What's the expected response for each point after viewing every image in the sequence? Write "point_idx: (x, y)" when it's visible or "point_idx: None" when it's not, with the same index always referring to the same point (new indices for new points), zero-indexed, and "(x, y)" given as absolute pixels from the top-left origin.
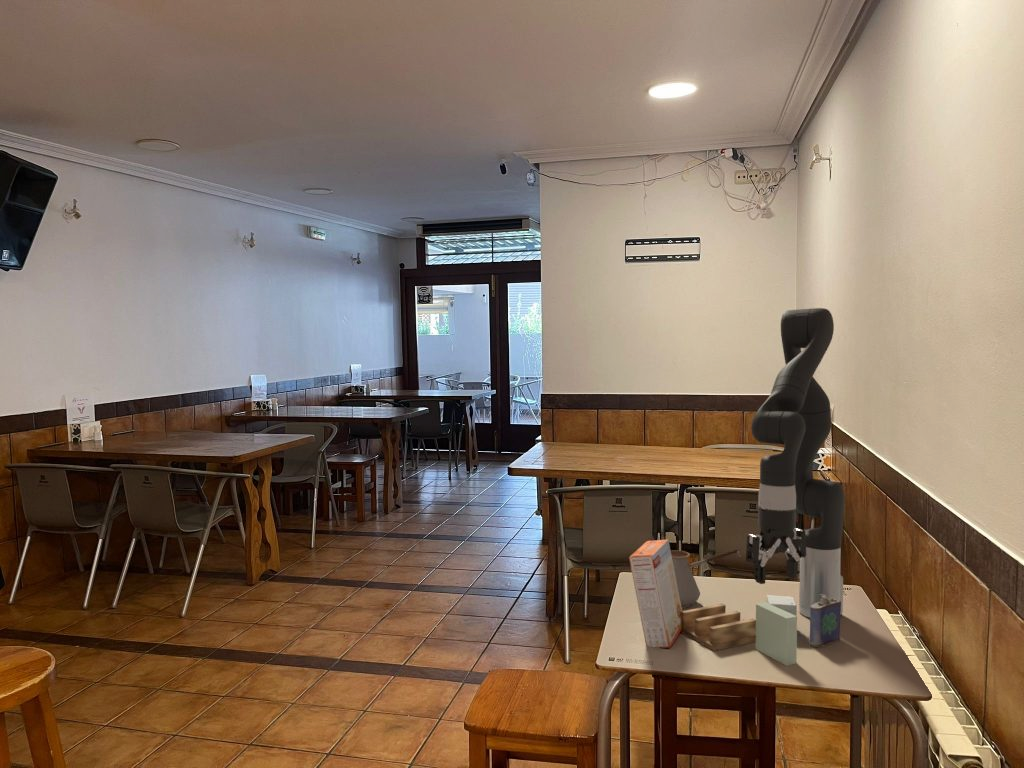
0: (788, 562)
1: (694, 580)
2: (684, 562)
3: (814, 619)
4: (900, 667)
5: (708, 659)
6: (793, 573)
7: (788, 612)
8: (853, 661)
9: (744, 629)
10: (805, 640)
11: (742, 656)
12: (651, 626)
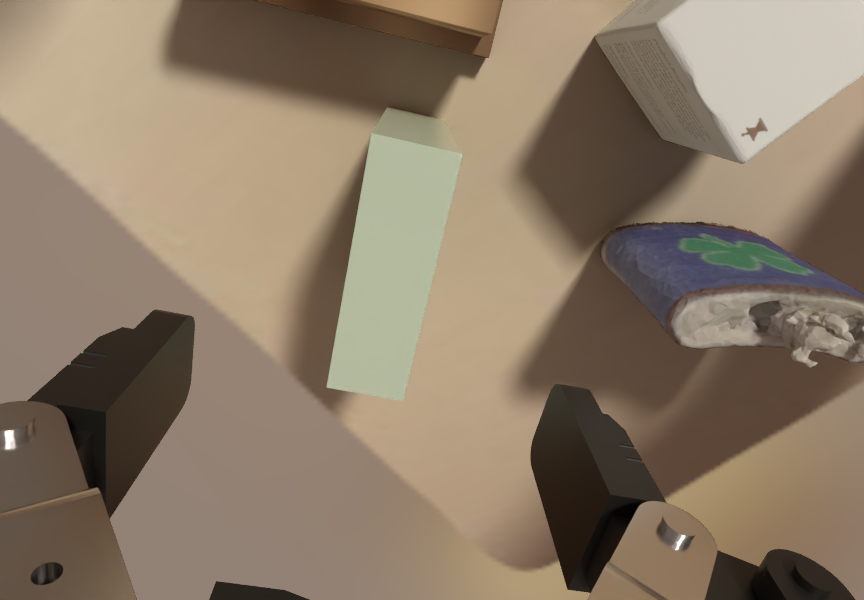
0: (588, 497)
1: None
2: None
3: (646, 303)
4: None
5: (100, 38)
6: (541, 482)
7: (416, 344)
8: None
9: (404, 14)
10: (647, 191)
11: (269, 120)
12: None
